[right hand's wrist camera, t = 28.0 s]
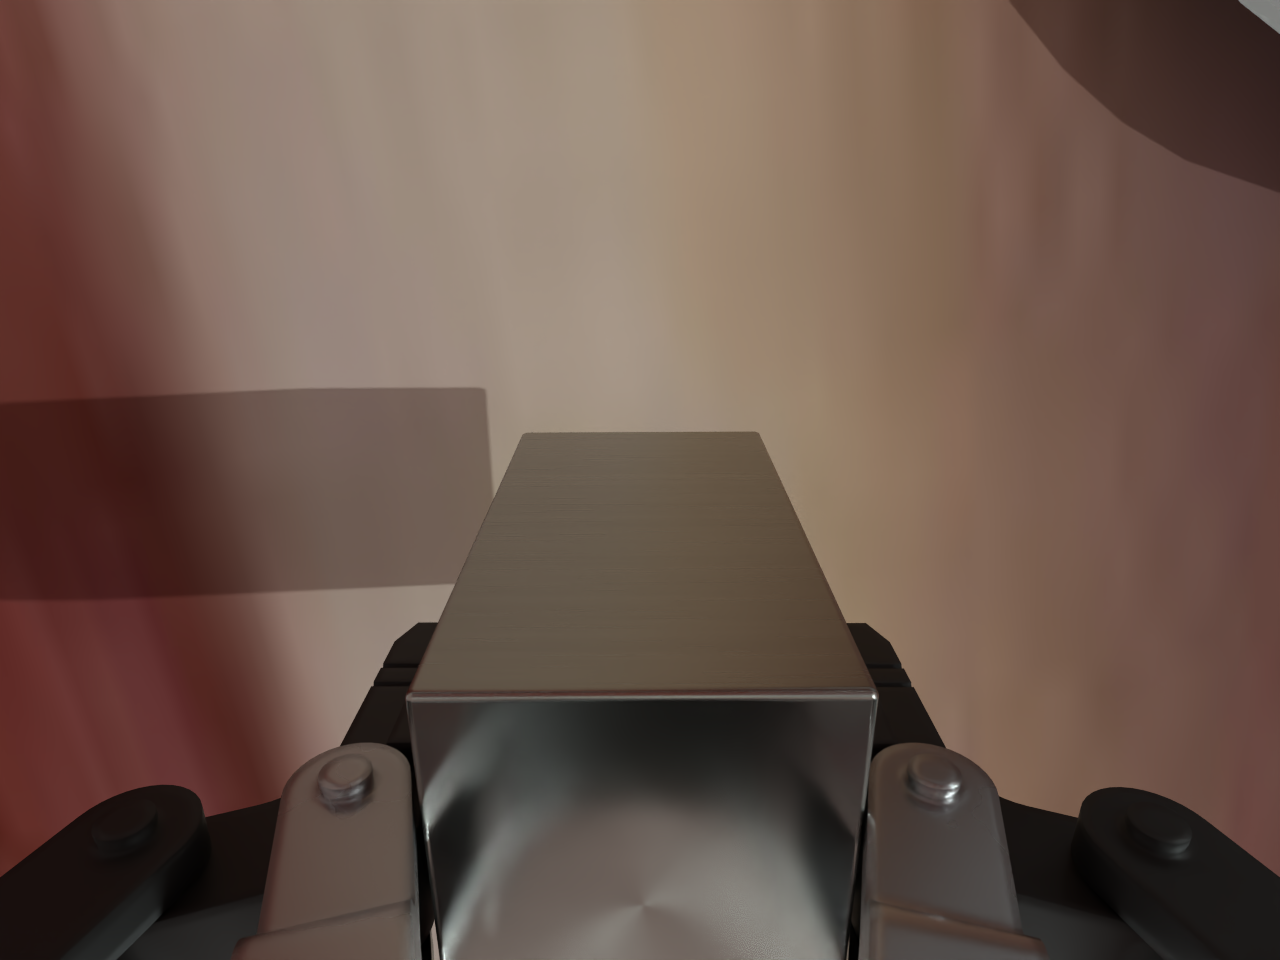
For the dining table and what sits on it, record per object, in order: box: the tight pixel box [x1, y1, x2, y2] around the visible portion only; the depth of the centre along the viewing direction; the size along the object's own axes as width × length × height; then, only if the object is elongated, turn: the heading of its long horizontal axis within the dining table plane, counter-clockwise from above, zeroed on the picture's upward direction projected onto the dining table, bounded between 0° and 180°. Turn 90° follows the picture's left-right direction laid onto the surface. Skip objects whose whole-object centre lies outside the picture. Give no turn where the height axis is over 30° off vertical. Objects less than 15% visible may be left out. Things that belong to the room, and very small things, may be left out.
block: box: [405, 432, 879, 960], centre depth 11 cm, size 4×5×8 cm
